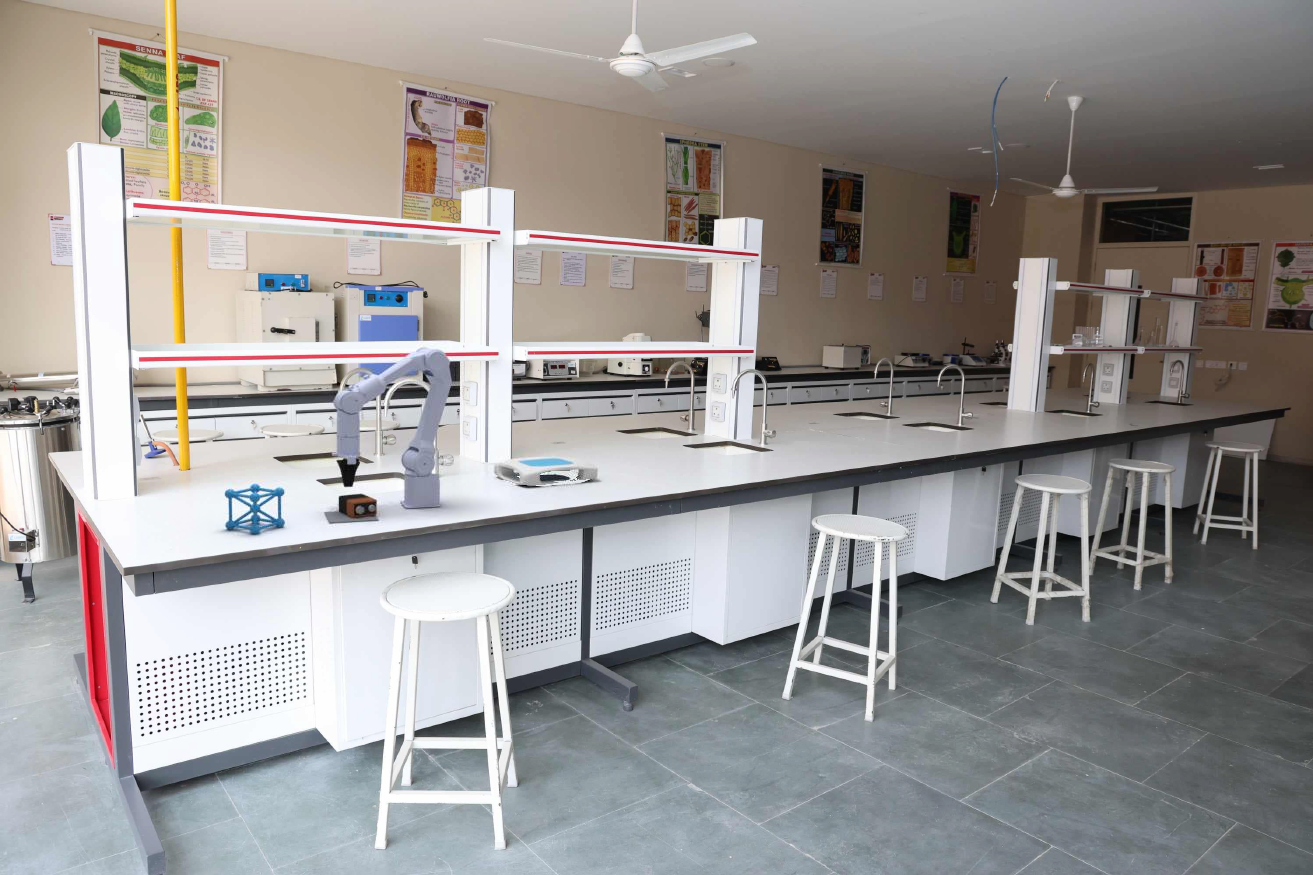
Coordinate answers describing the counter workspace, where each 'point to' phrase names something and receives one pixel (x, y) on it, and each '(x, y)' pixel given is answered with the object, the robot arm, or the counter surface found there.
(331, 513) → the mat
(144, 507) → the counter surface
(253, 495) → the molecular structure
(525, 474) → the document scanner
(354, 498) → the battery
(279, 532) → the counter surface
